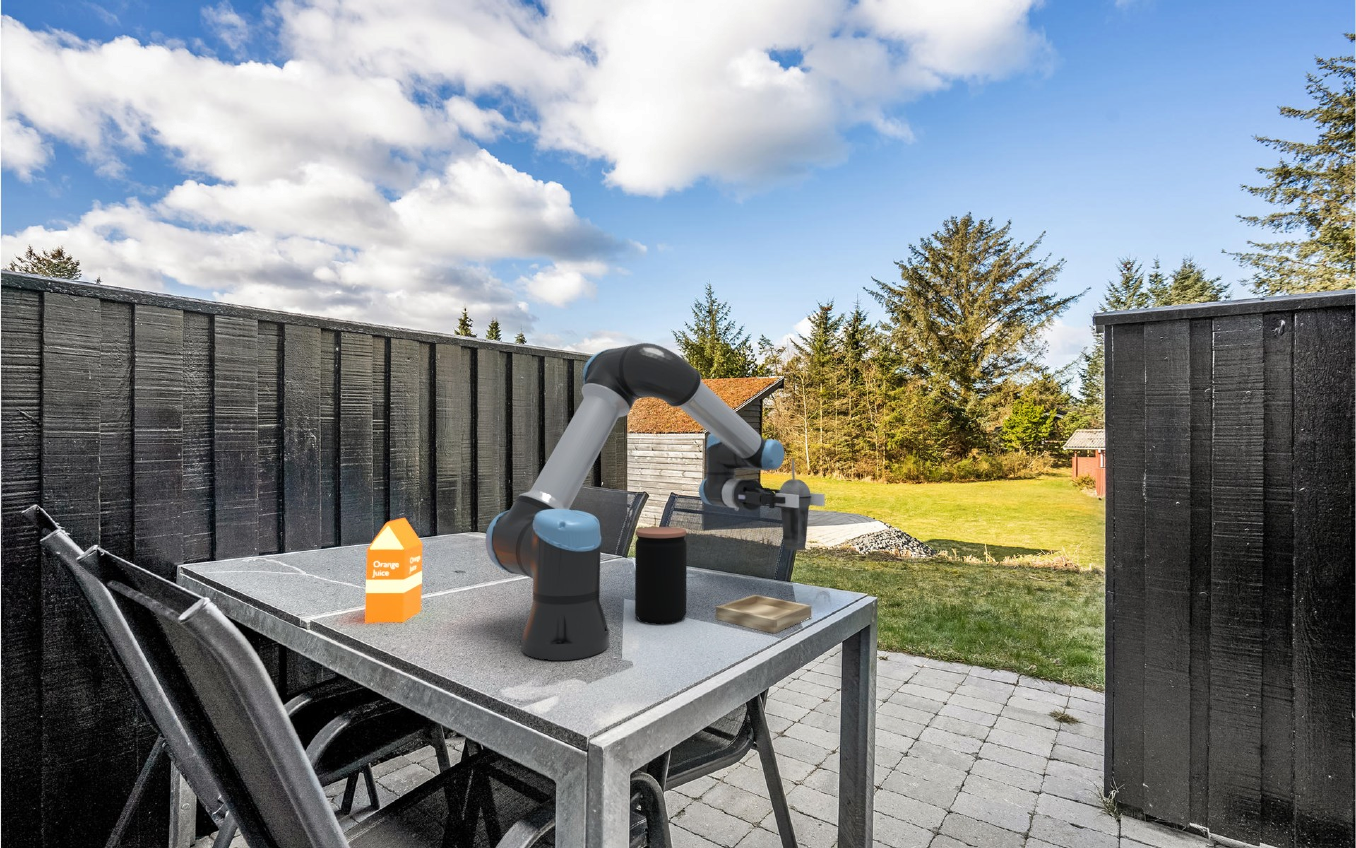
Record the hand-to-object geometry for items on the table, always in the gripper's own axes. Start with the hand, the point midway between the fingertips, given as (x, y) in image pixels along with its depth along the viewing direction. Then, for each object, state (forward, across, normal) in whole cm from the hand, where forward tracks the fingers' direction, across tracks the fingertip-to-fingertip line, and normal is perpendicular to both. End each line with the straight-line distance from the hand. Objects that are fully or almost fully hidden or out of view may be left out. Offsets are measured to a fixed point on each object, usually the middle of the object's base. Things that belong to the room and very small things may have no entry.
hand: (810, 500), depth 127 cm
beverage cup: (-5, 0, -11) cm, 12 cm away
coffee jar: (-13, +30, -24) cm, 41 cm away
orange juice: (-43, +77, -24) cm, 91 cm away
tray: (-1, +13, -24) cm, 27 cm away
